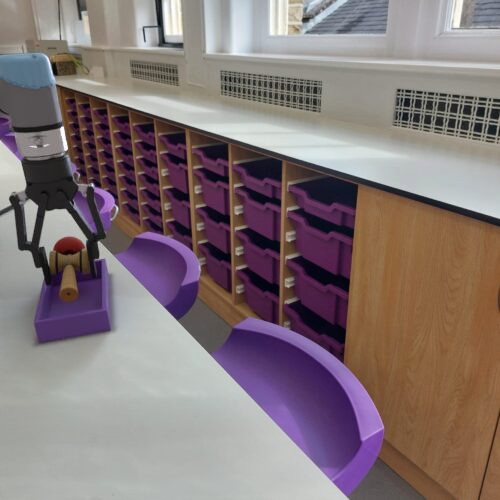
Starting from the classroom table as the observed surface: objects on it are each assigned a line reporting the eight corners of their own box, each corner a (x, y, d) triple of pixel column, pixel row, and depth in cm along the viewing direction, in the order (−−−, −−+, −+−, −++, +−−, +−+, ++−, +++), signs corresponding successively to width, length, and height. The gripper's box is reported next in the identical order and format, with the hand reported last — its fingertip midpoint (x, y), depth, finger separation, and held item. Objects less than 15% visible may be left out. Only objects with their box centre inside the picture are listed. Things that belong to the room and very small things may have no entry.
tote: (51, 287, 100) (46, 267, 98) (109, 277, 103) (105, 258, 101) (39, 346, 81) (33, 323, 79) (111, 333, 84) (106, 310, 82)
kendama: (100, 302, 84) (95, 250, 98) (87, 274, 80) (83, 223, 94) (55, 318, 82) (56, 262, 97) (39, 289, 79) (43, 236, 93)
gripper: (-28, 167, 74) (9, 297, 84) (108, 153, 79) (129, 278, 88) (-18, 156, 81) (16, 278, 90) (107, 144, 85) (127, 261, 95)
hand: (72, 278), depth 89 cm, fingers closed on kendama, 7 cm apart
